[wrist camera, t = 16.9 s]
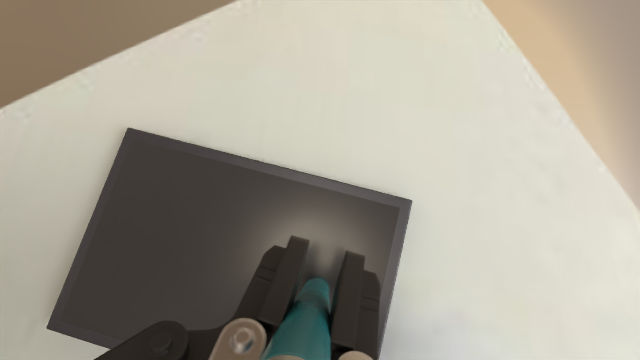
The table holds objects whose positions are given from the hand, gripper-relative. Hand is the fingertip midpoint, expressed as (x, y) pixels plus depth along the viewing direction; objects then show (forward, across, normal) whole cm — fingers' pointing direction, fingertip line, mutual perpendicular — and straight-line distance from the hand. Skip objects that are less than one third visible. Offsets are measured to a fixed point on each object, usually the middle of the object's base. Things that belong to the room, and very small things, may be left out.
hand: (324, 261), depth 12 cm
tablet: (+5, -6, -8) cm, 11 cm away
